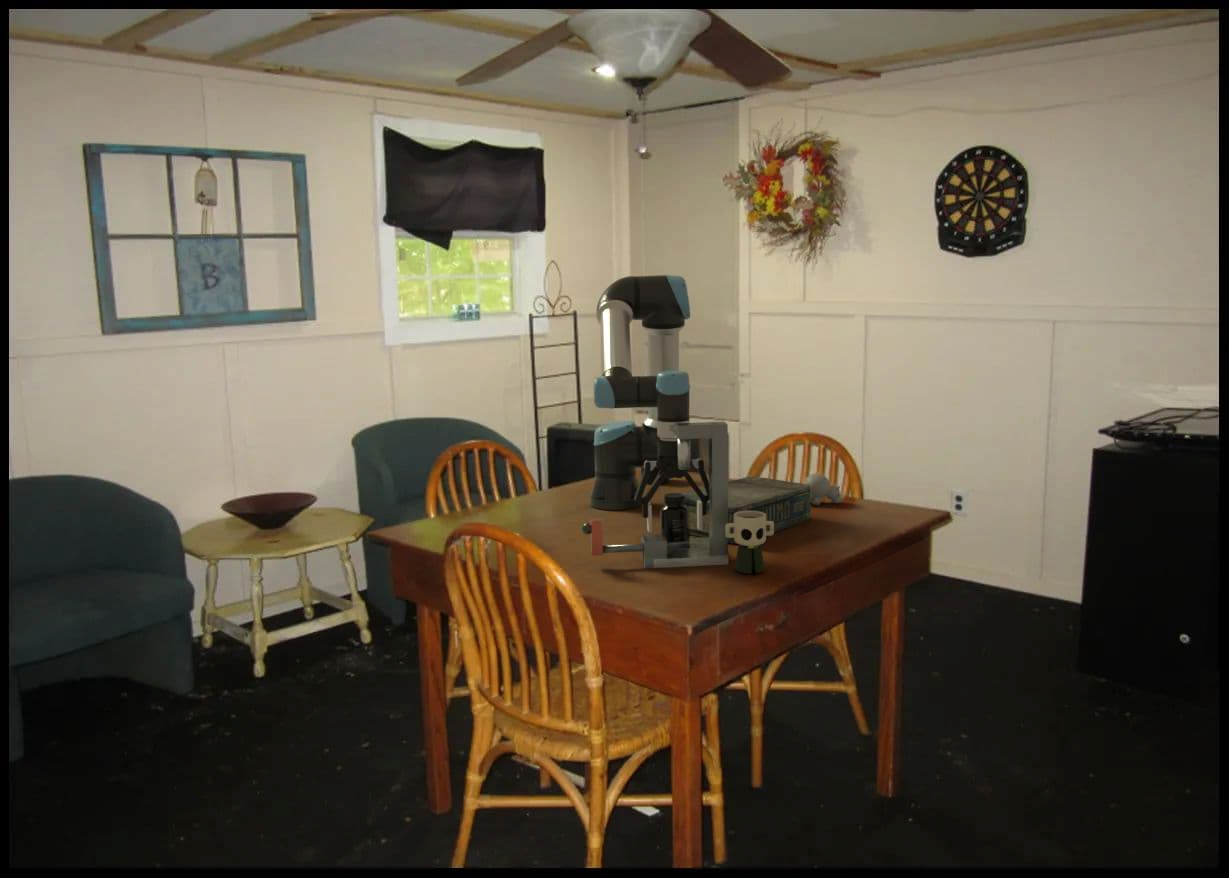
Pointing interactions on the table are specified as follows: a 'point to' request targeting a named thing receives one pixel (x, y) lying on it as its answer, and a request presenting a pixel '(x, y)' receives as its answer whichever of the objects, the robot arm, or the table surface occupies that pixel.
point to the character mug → (749, 539)
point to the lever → (599, 549)
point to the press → (716, 544)
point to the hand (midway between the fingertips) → (674, 529)
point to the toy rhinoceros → (822, 489)
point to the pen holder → (653, 475)
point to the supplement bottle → (675, 518)
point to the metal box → (757, 503)
